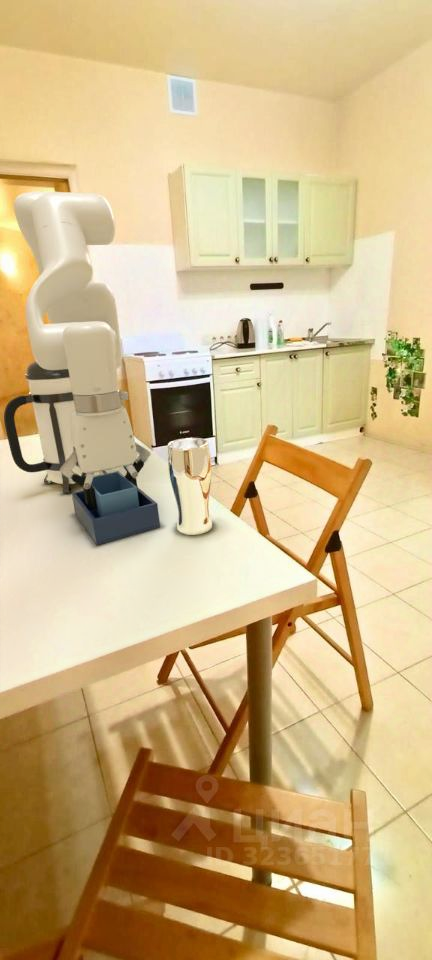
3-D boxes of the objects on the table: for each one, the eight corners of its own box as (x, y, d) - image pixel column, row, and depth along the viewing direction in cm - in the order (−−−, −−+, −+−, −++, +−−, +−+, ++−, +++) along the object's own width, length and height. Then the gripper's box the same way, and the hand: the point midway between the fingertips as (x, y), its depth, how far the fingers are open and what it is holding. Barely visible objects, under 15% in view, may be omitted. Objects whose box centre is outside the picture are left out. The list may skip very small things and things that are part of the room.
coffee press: (56, 471, 110) (31, 344, 100) (119, 470, 108) (100, 340, 98) (19, 499, 94) (-15, 351, 83) (92, 498, 92) (66, 347, 81)
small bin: (88, 500, 84) (84, 478, 82) (121, 492, 86) (118, 470, 85) (103, 520, 75) (99, 496, 74) (140, 510, 78) (137, 487, 77)
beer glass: (168, 524, 78) (159, 442, 73) (204, 515, 81) (198, 435, 76) (184, 540, 73) (176, 452, 67) (222, 529, 76) (217, 444, 70)
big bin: (75, 514, 85) (71, 492, 83) (131, 500, 90) (128, 479, 88) (96, 545, 73) (92, 520, 71) (160, 527, 78) (157, 503, 76)
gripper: (139, 392, 81) (150, 484, 87) (39, 407, 73) (59, 507, 79) (155, 398, 75) (165, 496, 81) (48, 414, 67) (68, 522, 73)
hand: (112, 501), depth 80 cm, fingers closed on small bin, 6 cm apart
